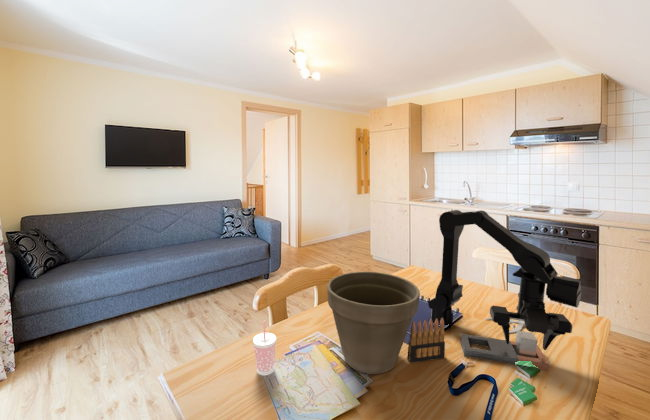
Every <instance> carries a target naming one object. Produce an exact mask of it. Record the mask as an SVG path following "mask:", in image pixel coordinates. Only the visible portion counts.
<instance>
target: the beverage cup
mask: <svg viewBox="0 0 650 420" xmlns="http://www.w3.org/2000/svg"><path fill="white" fill-rule="evenodd" d="M262 324H263V327H262V328H263V332H261V333H258V334H256V335H254V337H253V338H252V339H253V340H252V345H253V346H254V356H255V366H256V373H257V375H260V376H269V375H271V374H272V373H273V372H274V370H275V359H276V358H275V356H276V342H277V336H276V335H275V334H274V333H272V332H266V320H263V323H262Z"/></svg>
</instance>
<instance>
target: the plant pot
mask: <svg viewBox="0 0 650 420" xmlns="http://www.w3.org/2000/svg"><path fill="white" fill-rule="evenodd" d="M326 285H327V286H326V292H327V303H328V306H329V308H330V309H331V311H332V315H333V320H334V322H335V327H336V331H337V332H336V333H337V335H338V339H339V343H340V347H341V350H342V354H343V358H344V361H345V363H346V364H347V365H348V366H349V367H351V368H352V369H353V370H355V371H357V372H359V373H364V374H368V375H378V374H384V373H387V372H389V371H390V370H392V369H393V368H394V367H395V365H396V363H397V361H398V358H399V355H400V354H401V353H400V352H401V350H402V347H403V345H404V342H405V339H406V336H407V334H408V331H409V328H410V326H411V324H412V320H413V317H414V316H415V315H416V314H417V312H418V309H419V305H420V304H419V303H420V295H421V293H420V292H421V291H420V290H419V288H418V286H417V285H415V284H414V283H413V282H412V281H410V280H408V279H406V278H403V277H401V276H397V275H394V274H390V273H386V272H385V273H384V272H377V271H354V272H353V271H352V272H347V273H343V274H340V275H337V276H334V277H333V278H331V279H330V280H329V281H328V283H327V284H326Z"/></svg>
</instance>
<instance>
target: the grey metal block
mask: <svg viewBox="0 0 650 420" xmlns="http://www.w3.org/2000/svg"><path fill="white" fill-rule="evenodd" d="M515 342H516V343H515V352H516V354H517V355H520V356H526V357H532V358H535V357H536V348H537V345H538V339H537V337H536V336H535V334H534V332H530V331H523V330H521V331H517V332H516V335H515Z"/></svg>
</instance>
